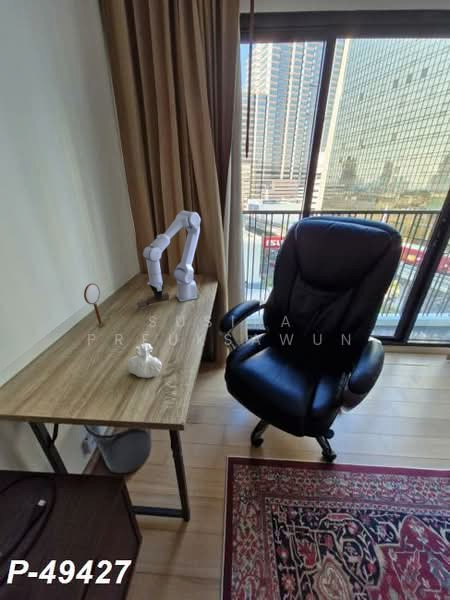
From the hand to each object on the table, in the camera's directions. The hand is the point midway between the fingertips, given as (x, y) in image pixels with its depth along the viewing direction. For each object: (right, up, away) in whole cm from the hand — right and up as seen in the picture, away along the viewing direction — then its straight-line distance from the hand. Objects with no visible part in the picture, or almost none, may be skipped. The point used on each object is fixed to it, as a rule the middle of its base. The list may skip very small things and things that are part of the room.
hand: (158, 298), depth 123 cm
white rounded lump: (+6, -25, -37) cm, 46 cm away
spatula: (-2, -2, 0) cm, 3 cm away
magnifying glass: (-22, -12, -12) cm, 28 cm away
